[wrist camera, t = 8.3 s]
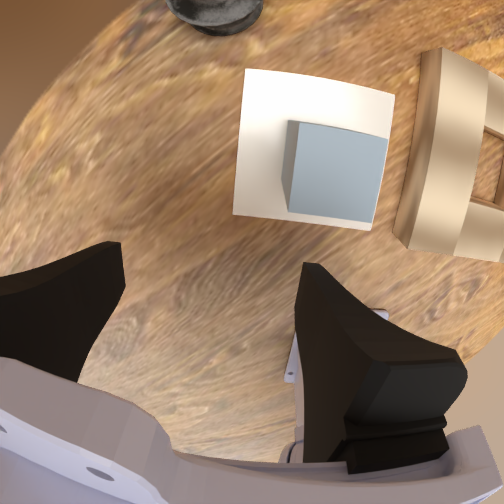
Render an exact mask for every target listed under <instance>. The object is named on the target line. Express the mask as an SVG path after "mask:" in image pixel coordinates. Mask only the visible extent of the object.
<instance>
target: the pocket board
mask: <svg viewBox="0 0 504 504" xmlns="http://www.w3.org/2000/svg"><path fill="white" fill-rule="evenodd" d="M483 131H485V132H487V133H489V134H491V135H493V136H496V137H498V138H500V139H502V140H504V79H502V78H501V77H499V76H497V75H496V74H494V73H492V72H491V71H489V70H487V69H485V68H484V67H482V66H480V65H478V64H476V63H474V62H472V61H470V60H468V59H466V58H464V57H462V56H460V55H458V54H456V53H454V52H452V51H450V50H448V49H445V48H443V47H441V48H437V49H433V50H430V51H426V52H423V53H422V55H421V70H420V82H419V92H418V102H417V110H416V117H415V125H414V131H413V138H412V144H411V150H410V155H409V161H408V166H407V171H406V176H405V181H404V186H403V190H402V195H401V199H400V203H399V208H398V212H397V216H396V220H395V224H394V227H393V231H392V233H393V234H394V235H395V236H396V237H397V238H398V239H399V240H400V241H401V243H402V244H403V245H404V246H405V247H406V248H407V249H409V250H417V251H424V252H431V253H438V254H446V255H453V256H460V257H466V258H473V259H480V260H487V261H493V262H500V263H504V158H503V164H502V169H501V174H500V178H499V183H498V187H497V191H496V195H495V199H494V203H492V202H489V201H486V200H483V199H479V198H476V197H473V196H471V193H472V188H473V184H474V180H475V175H476V170H477V166H478V160H479V155H480V149H481V143H482V137H483Z"/></svg>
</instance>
